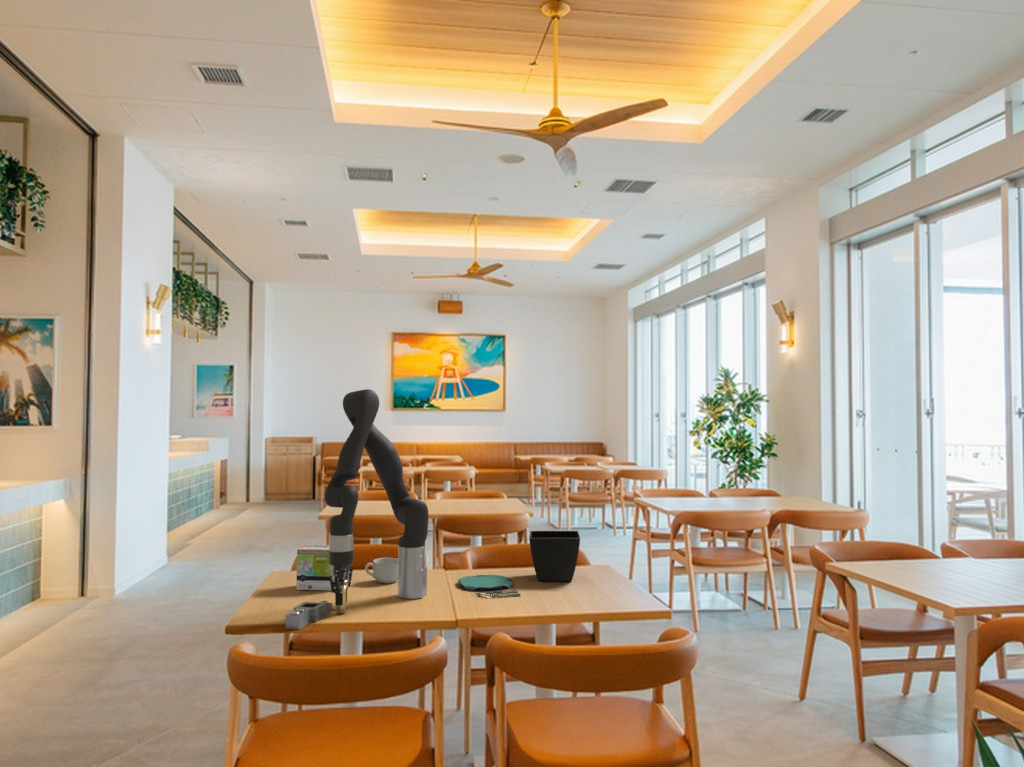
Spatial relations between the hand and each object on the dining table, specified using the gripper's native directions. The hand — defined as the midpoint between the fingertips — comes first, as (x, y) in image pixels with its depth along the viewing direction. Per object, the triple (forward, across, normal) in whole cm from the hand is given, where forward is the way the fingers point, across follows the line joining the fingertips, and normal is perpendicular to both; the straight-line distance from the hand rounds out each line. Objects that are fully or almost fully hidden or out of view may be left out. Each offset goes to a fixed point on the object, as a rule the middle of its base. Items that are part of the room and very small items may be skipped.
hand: (341, 603), depth 241 cm
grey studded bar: (+3, -7, +7) cm, 11 cm away
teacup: (+4, +45, +2) cm, 45 cm away
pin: (+3, 0, 0) cm, 3 cm away
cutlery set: (+4, +42, -39) cm, 57 cm away
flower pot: (+4, +63, -60) cm, 87 cm away
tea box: (+3, +32, +21) cm, 39 cm away
